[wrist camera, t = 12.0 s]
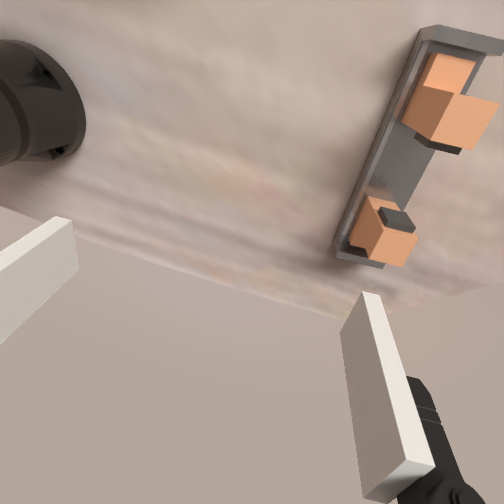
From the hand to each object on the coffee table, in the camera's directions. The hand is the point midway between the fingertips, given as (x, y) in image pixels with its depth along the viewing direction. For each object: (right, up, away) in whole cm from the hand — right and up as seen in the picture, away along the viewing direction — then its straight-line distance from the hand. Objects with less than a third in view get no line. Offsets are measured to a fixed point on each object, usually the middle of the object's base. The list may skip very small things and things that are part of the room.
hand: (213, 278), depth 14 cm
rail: (+21, +14, +27) cm, 37 cm away
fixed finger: (+22, +19, +21) cm, 36 cm away
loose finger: (+19, +6, +30) cm, 36 cm away
